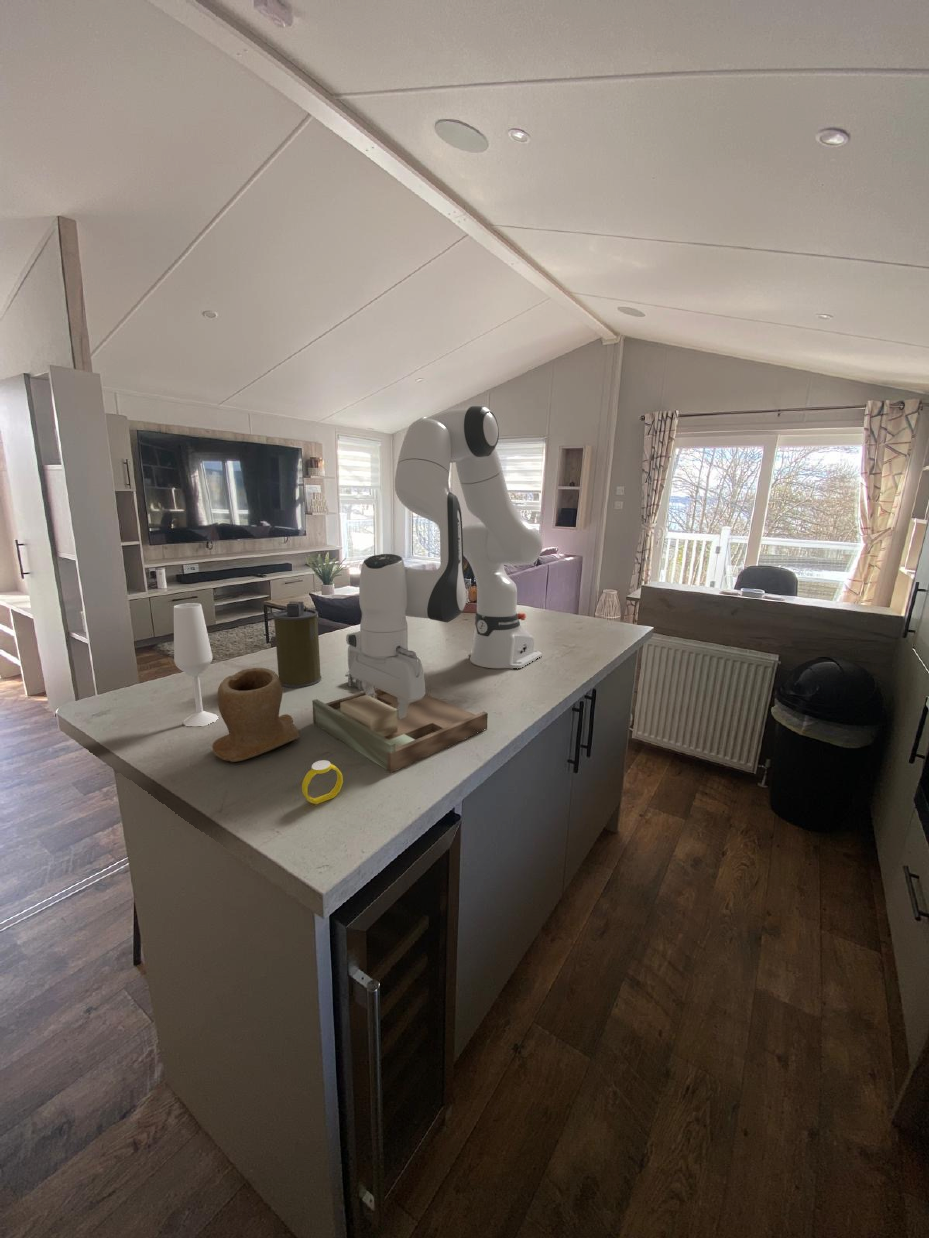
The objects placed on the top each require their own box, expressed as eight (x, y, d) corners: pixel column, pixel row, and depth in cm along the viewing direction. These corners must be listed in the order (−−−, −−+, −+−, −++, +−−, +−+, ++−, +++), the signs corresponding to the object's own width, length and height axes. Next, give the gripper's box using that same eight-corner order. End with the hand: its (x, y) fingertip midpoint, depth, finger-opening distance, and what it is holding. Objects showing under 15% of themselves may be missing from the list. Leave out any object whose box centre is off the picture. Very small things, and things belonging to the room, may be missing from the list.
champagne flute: (223, 721, 102) (211, 606, 96) (186, 730, 97) (171, 610, 92) (213, 710, 107) (201, 600, 101) (178, 719, 102) (164, 604, 97)
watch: (309, 812, 73) (304, 776, 72) (302, 803, 75) (297, 768, 74) (346, 795, 77) (342, 761, 75) (338, 787, 79) (334, 754, 77)
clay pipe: (233, 776, 82) (225, 691, 78) (205, 751, 90) (196, 672, 86) (316, 745, 93) (311, 668, 89) (284, 725, 100) (279, 654, 97)
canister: (314, 688, 120) (309, 607, 115) (271, 687, 120) (264, 606, 116) (327, 673, 131) (323, 598, 126) (287, 672, 131) (282, 597, 126)
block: (367, 715, 101) (366, 694, 100) (397, 731, 94) (397, 709, 93) (341, 724, 97) (340, 702, 96) (371, 741, 90) (370, 718, 89)
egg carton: (362, 692, 119) (361, 676, 118) (342, 685, 123) (342, 669, 122) (395, 680, 127) (395, 665, 126) (375, 674, 131) (375, 659, 130)
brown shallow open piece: (406, 693, 118) (406, 673, 117) (487, 729, 100) (487, 705, 99) (313, 723, 101) (312, 700, 100) (391, 772, 84) (390, 745, 82)
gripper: (433, 650, 89) (433, 721, 92) (367, 628, 103) (369, 691, 106) (405, 657, 85) (406, 732, 88) (341, 634, 99) (343, 699, 102)
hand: (385, 709), depth 97 cm, fingers open, 8 cm apart
